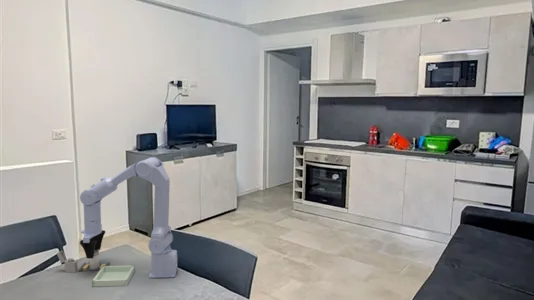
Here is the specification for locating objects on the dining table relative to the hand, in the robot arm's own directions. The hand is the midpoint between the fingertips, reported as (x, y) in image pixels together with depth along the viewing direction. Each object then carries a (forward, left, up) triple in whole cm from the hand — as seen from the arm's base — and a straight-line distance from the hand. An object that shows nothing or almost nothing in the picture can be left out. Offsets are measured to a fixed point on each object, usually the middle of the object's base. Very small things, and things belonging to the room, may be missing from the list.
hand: (93, 253), depth 141 cm
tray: (-10, +9, -6) cm, 15 cm away
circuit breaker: (+9, +2, -6) cm, 11 cm away
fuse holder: (0, 0, -6) cm, 6 cm away
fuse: (0, 0, -6) cm, 6 cm away
